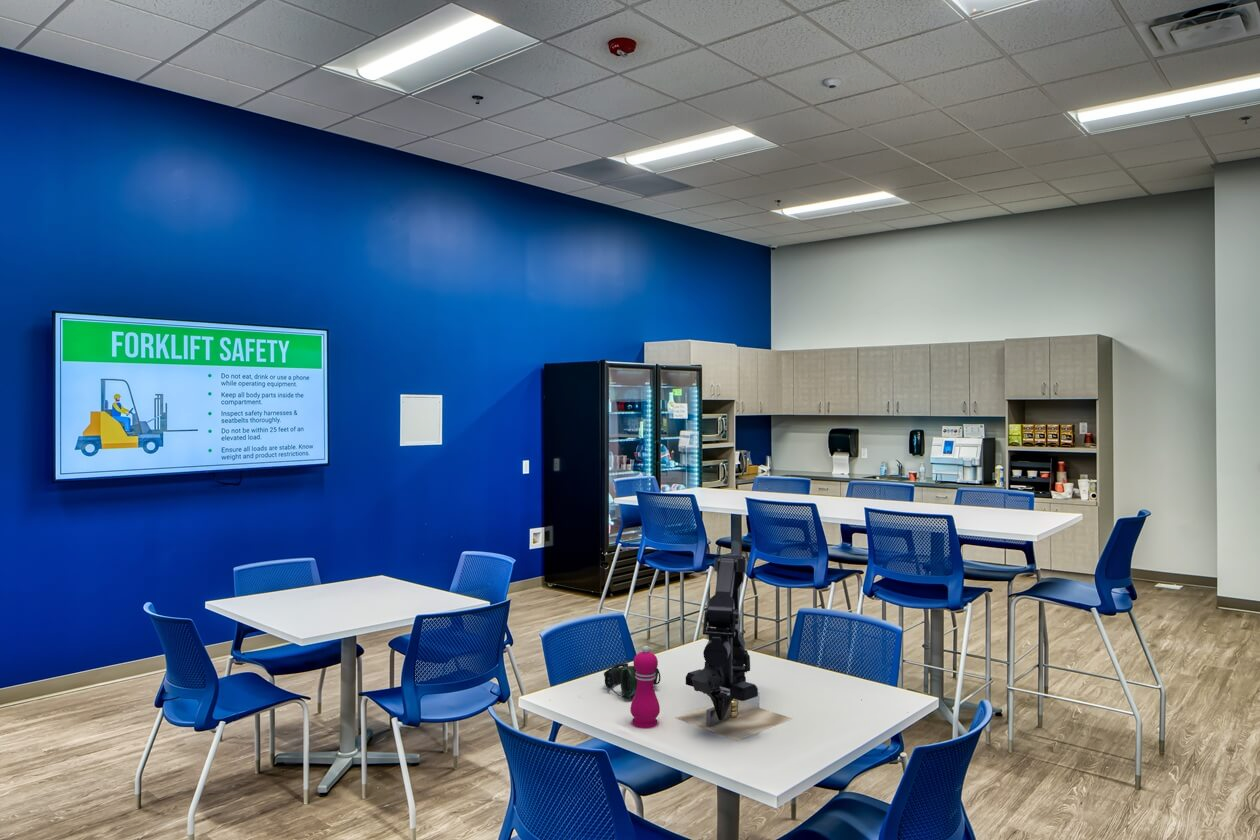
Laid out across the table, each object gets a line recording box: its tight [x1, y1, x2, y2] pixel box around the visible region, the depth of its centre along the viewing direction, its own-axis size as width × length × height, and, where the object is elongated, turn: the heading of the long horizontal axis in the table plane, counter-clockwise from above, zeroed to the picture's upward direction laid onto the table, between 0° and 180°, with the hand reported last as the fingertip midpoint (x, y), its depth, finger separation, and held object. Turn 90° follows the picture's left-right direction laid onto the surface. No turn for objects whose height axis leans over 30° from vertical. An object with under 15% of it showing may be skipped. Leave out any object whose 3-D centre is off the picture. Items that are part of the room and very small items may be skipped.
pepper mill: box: [629, 645, 661, 729], centre depth 201 cm, size 7×7×20 cm
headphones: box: [603, 662, 661, 701], centre depth 229 cm, size 13×13×20 cm
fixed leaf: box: [731, 692, 760, 718], centre depth 210 cm, size 11×2×4 cm, turn 133°
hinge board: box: [674, 704, 794, 741], centre depth 206 cm, size 20×22×1 cm
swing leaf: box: [706, 704, 737, 726], centre depth 203 cm, size 11×2×4 cm, turn 138°
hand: (720, 720), depth 199 cm, fingers closed
